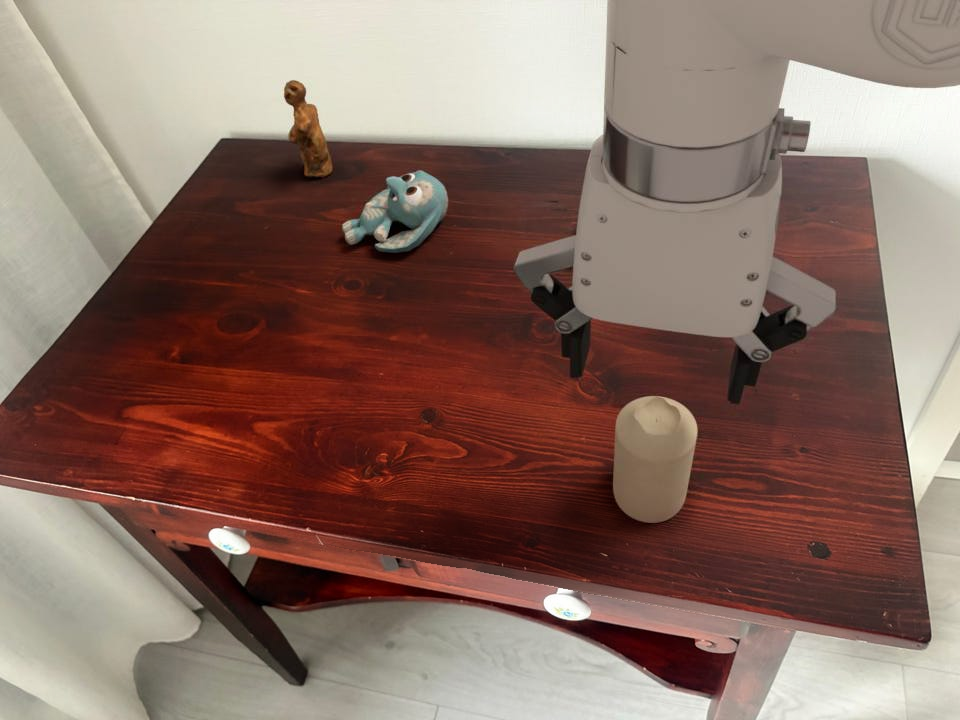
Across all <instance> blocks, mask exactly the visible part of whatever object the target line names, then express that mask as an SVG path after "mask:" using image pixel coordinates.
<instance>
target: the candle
mask: <svg viewBox="0 0 960 720" xmlns="http://www.w3.org/2000/svg"><path fill="white" fill-rule="evenodd" d="M614 429H615V430H614V432H615V433H614V454H613V474H612V475H613V477H612V491H613V496H614V499H615V502H616V504H617V506H618V507H619V508H620V509H621V511H622V512H623V513H624V514H625V515H627V516H628V517H630V518H631V519H634V520H636V521H639V522H641V523H642V522H643V523H650V524H657V523H662V522H665V521H668V520H670V519H672V518H673V517H675V516H676V515H677V514H679V512H680V511H681V509H682V508H683V506H684V505H685V502H686V498H687V493H688V487H689V482H690V479H691V478H690V477H691V471H692V466H693V460H694V455H695V449H696V446H697V445H696V444H697V439H698V423H697V421H696V418H695V417H694V414H692V412H691V411H690V410H689V409H688V408H687V407H686V406H684V404H682V403H680V402H678V401H677V400H674V399H672V398H669V397H666V396H659V395H648V396H643V397H639V398H636V399H634V400H632V401H630V402H629V403H627V404H625V406H623V407H622V408H621V410H620V411H619V413H618V415H617V417H616V419H615V428H614Z"/></svg>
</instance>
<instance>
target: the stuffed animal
mask: <svg viewBox="0 0 960 720" xmlns="http://www.w3.org/2000/svg"><path fill="white" fill-rule="evenodd" d="M385 183H386V185H387V188H386V189H383V190H382V191H381V192H379V193H377V194H376V195H374V197H372V198H371V199H370V200H369V201H368V202H366V203H365V205H364V208H363V209H362V212H361V214H360V217H359V218H354V219H353V218H352V219H350V220H347V221H345V222H343V224H342V225H341V226H342V227H341V230H342V232H343V234H344V239H345V241H346V243H347V244H348V245H350V246H352V245H356V244H358V243H359V242H361V241H362V240H363V239H364V238H365V236H367V235H369V236H374V239H376V241H378V242H377V243H375V244H374V248H375V249H376V250H377V251H379V252H381V253H382V252H383V253H391V254H392V253H394V254H396V253H404V252H405V253H406V252H411V251H412V250H413V249H415V248H417V247H420V245H421V244H422V243H423V242H424V241H425V240H426V239H427V237H428V236H429V235H431V233H432V232H433V231H434V230H435V228H436V227H437V225H438V224H439V223H440V222H441V221H442V220H444V218H445V216H446V214H447V211H448V207H449V197H448V192H447V189H446V187H445V185H444V184H443V183H442V182H441V181H439V179H437V178H436V177H434V176H432V175H431V174H429V173H427V172H425V171H423V170H422V169H421V170H416V171H415V172H414V171H413V172H409V173H406V174H403V175H401V176H395V175H392V176H388V177H386V178H385ZM393 222H399V223H401V224H403V225H404V226H406V227H408V228H409V229H410V230H409V229H408V230H402V231H400V232H398V233H396V234H394V235H392V236H390V237H388V236H389V233H390V228H391V226H392V224H393Z"/></svg>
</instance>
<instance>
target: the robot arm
mask: <svg viewBox="0 0 960 720" xmlns="http://www.w3.org/2000/svg"><path fill="white" fill-rule="evenodd" d="M605 32H606V33H605V35H606V36H605V61H604V62H605V65H604V91H603V92H604V93H603V94H604V95H603V127H602V128H603V131H602V134H601V135H600V136H598V138H597V139H595V140H594V142H593V143H592V146H591V149H590V152H589V156H588V160H587V163H586V168H585V174H584V178H583V184H582V190H581V194H580V201H579V207H578V215H577V221H576V222H577V223H576V231H575V235H570V236H568V237H564V238H561V239H558V240H557V239H556V240H553V241H549V242H547V243H543V244H539V245H536V246H533V247H529V248H526V249H523V250H520V251H519V252H518V254H517V256H516V260H515V261H514V264H513V272H514V274H515V275H516V277H517V278H518V280H519V282H521V284H522V286H523V287H524V288H525V290H526V291H528V292H529V293H530V301H531V302H532V303H533V304H534V305H535V306H536V307H538V308H539V309H540V310H541V311H543V312H544V313H545V314H546V315H547V316H549V318H551V319H552V320H553V321H554V324H553V327H554V329H555V330H556V331H557V332H558V333H560V335H561V336H560V338H561V357H562V358H567V359H569V378H571V379H577V380H578V379H579V378H582V377H583V374H584V371H585V368H586V363H587V359H588V356H589V352H590V349H591V337H592V336H591V334H592V330H591V329H592V319H594V320H598V321H602V322H607V323H613V324H621V325H627V326H633V327H638V328H639V327H640V328H646V329H654V330H659V331H660V330H661V331H668V332H674V333H675V332H676V333H683V334H690V335H698V336H706V337H714V338H731V340H733V342H734V343H735V346H734V352H733V356H732V360H731V364H730V371H729V380H728V390H727V397H726V401H727V402H729V404H733V405H737V406H739V405H740V404H741V399H742V396H743V392H744V389H745V386H746V387H753V388H754V387H756V385H757V382H758V378H759V375H760V371H761V368H762V365H763V363H765V362H768V361H770V359H771V358H772V353H774V352H776V351H778V350H780V349H783V348H786V347H788V346H791V345H793V344H796V343H798V342H800V341H802V340H804V339H805V338H807V334H808V332H809V331H810V330H811V329H815V328H816V327H818V326H819V325H820V324H821V323H823V322H824V321H826V320H827V319H828V318H829V317H830V316H832V315H833V314H834V313H835V312H836V309H837V292H836V290H835V289H834V288H833V287H831V286H829V285H828V284H826V283H824V282H823V281H821V280H818V279H817V278H815V277H813V276H811V275H809V274H807V273H806V272H804V271H802V270H799V269H798V268H796V267H794V266H792V265H790V264H788V263H786V262H785V261H783V260H781V259H779V258H777V257H775V256H774V250H775V244H776V238H777V232H778V225H779V219H780V217H779V216H780V209H781V199H782V189H783V164H782V156H781V154H784V155H786V154H787V153H788V152H798V153H799V152H800V153H805V151H806V150H807V146H808V141H809V137H810V131H811V124H812V123H811V121H810V120H799V119H794V117H793V116H789V115H785V108H782V107H780V105H781V101H782V96H783V91H784V88H785V83H786V78H787V74H788V70H789V69H788V68H789V65H790V61H793V62H795V63H800V64H804V65H809V66H811V67H816V68H819V69H823V70H826V71H829V72H833V73H837V74H840V75H844V76H848V77H851V78H855V79H860V80H864V81H868V82H872V83H877V84H882V85H888V86H891V87H892V86H893V87H900V88H914V89H939V88H950V87H957V86H960V0H607V1H606V31H605ZM570 268H572V280H571V281H572V283H571V284H572V285H571V286H570V287H567V286H565V284H563V283H562V282H561V281H560V280H558V279H557V277H555V276H553V275H552V273H556V272H560V271H563V270H566V269H570ZM767 292H769V293H770V294H772V295H774V296H776V297H778V298H780V299H781V300H784V301H786V302H787V303H788V304H792V305H790V306H787V307H784V308H782V309H780V310H777V311H776V312H773V313H771V314H770V313H769V311H768V310H767V309H766V308H765V307H764V302H765V297H766V293H767Z"/></svg>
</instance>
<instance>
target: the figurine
mask: <svg viewBox="0 0 960 720" xmlns="http://www.w3.org/2000/svg"><path fill="white" fill-rule="evenodd" d="M306 96H307V88H306V86H305V85H304V84H303V83H302V82H300V81H298V80H297V79H296V80H295V79H292V80H289V81H287V82H286V83H285V85H284V88H283V98H284V100H285V102H286V103H287V104H288V105H289V106H291V107H293V121H294V122H293V125H292V126H291V128H290V129H289V132H288V134H287V135H288V136H287V137H288V140H289V141H290V143H291V144H295V145H297V146H298V148H299V149H300V150H299V153H300V157H301V159H302V163H303V166H304V168H303V169H304V172H303V174H304V176H305V177H307V178H310V179H312V178H313V177H314V178H316V179H317V178H321V179H322V178H326V177H327V176H328V175H330V174H331V173H332V171H333V170H334V165H333V163H332V158H331V155H330V153H329V152H330V151H329V149H328V143H327V140H326V137H325V135H324V132H323V129H322V126H321V125H320V119H319V113H318V109H317V106H316V105H315V104H313V103H307V100H306Z"/></svg>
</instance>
